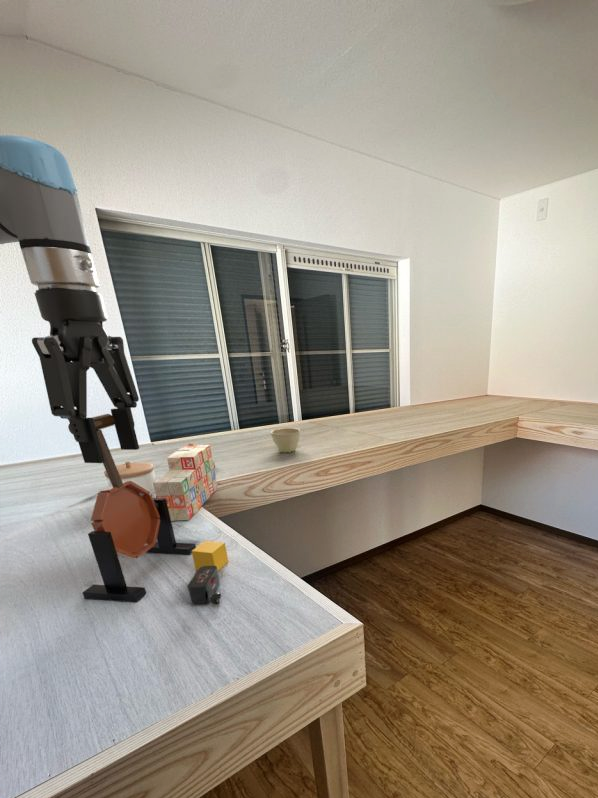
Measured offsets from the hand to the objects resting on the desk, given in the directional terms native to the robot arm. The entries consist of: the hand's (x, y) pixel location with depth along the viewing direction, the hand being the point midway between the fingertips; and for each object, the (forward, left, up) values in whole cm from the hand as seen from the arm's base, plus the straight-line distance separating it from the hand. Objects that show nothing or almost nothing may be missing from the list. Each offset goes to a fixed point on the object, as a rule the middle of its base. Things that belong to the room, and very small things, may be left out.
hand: (113, 455), depth 65 cm
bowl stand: (0, 0, -21) cm, 21 cm away
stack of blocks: (-9, +31, -21) cm, 39 cm away
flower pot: (-2, +82, -21) cm, 85 cm away
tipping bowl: (-2, 0, -6) cm, 6 cm away
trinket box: (-26, +34, -21) cm, 48 cm away
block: (+13, +3, -19) cm, 23 cm away
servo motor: (+15, -6, -21) cm, 27 cm away
